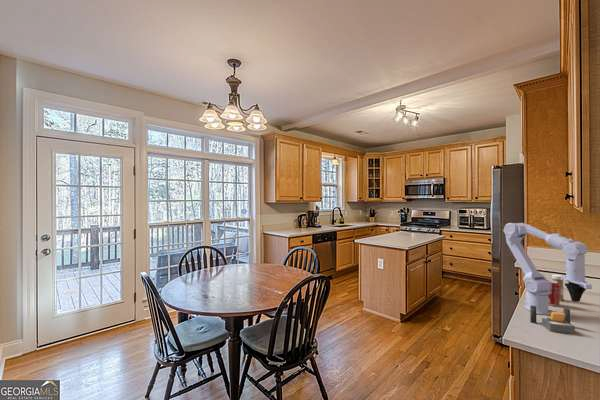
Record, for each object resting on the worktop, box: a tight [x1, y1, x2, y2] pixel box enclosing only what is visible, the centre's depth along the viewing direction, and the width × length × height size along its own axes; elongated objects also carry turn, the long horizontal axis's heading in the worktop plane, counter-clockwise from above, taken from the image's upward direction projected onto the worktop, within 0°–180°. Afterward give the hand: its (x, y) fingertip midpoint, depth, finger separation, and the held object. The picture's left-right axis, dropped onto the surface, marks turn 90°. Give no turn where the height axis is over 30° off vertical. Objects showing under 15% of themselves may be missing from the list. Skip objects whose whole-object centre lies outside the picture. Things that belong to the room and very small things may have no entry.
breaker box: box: [541, 317, 576, 335], centre depth 114 cm, size 6×8×4 cm
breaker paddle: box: [549, 311, 565, 322], centre depth 114 cm, size 1×4×4 cm, turn 73°
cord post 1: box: [529, 305, 537, 324], centre depth 121 cm, size 2×2×7 cm
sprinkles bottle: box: [551, 273, 565, 302], centre depth 150 cm, size 5×5×14 cm
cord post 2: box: [563, 308, 571, 324], centre depth 117 cm, size 2×2×7 cm
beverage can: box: [547, 279, 561, 307], centre depth 143 cm, size 6×6×12 cm
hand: (575, 301), depth 119 cm, fingers closed
